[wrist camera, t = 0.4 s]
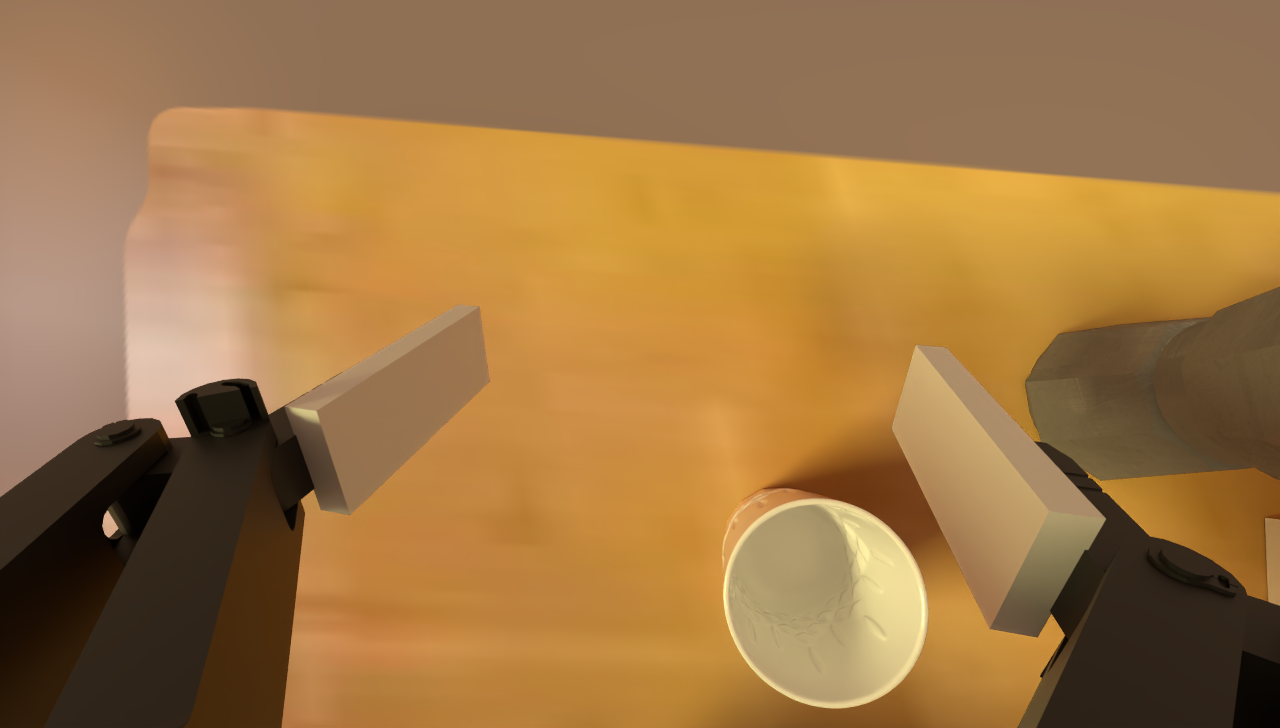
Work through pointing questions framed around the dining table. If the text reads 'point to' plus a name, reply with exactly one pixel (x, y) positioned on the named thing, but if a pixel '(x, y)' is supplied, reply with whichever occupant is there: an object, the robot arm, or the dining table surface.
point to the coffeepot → (1165, 394)
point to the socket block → (1273, 559)
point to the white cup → (821, 597)
